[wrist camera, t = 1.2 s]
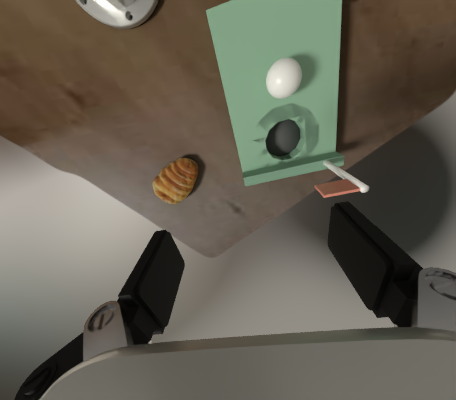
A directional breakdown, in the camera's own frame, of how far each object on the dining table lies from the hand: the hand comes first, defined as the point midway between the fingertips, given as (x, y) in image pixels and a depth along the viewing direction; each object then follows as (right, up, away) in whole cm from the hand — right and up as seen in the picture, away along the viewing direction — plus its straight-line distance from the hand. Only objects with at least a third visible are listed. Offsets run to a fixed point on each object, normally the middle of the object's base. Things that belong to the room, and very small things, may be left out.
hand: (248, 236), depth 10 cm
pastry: (-11, +6, +24) cm, 27 cm away
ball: (+6, +17, +11) cm, 21 cm away
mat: (+6, +18, +16) cm, 25 cm away
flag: (+12, +10, +20) cm, 26 cm away
